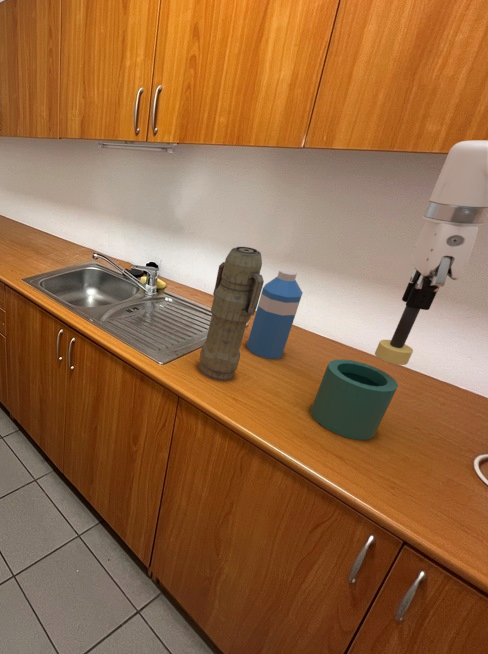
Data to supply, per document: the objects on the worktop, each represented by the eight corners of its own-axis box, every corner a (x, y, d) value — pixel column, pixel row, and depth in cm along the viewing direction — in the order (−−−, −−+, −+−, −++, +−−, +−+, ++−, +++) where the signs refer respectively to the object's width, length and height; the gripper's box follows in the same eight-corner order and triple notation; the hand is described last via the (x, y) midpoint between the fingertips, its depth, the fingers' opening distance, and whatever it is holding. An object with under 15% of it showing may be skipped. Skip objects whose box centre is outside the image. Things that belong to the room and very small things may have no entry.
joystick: (403, 355, 83) (439, 277, 76) (410, 367, 79) (449, 286, 72) (372, 349, 86) (404, 272, 79) (377, 360, 82) (411, 280, 75)
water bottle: (287, 361, 111) (315, 280, 101) (249, 355, 114) (272, 276, 104) (278, 344, 119) (302, 267, 109) (242, 339, 122) (263, 264, 112)
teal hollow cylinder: (369, 415, 91) (391, 369, 86) (379, 447, 83) (404, 398, 77) (308, 398, 97) (325, 353, 92) (312, 426, 88) (331, 379, 83)
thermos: (209, 356, 114) (237, 240, 100) (247, 379, 104) (283, 254, 90) (186, 362, 111) (211, 244, 98) (221, 387, 101) (255, 260, 87)
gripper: (507, 226, 63) (456, 327, 70) (468, 207, 75) (428, 294, 82) (440, 220, 66) (398, 317, 74) (413, 203, 79) (380, 287, 86)
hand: (414, 304), depth 78 cm, fingers closed on joystick
